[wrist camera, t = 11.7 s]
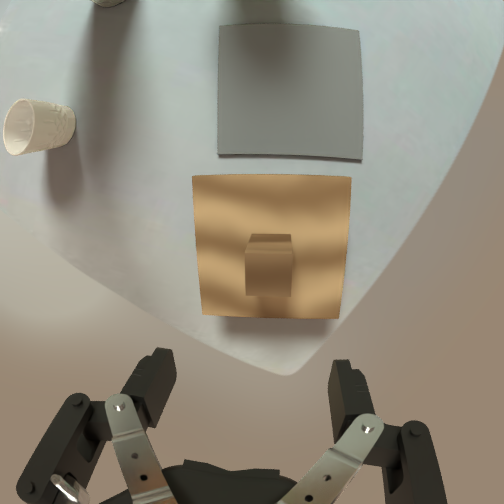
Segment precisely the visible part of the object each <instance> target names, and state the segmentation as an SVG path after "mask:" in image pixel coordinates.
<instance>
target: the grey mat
mask: <svg viewBox="0 0 504 504" xmlns="http://www.w3.org/2000/svg"><path fill="white" fill-rule="evenodd" d="M218 154H284V155H308V156H325V157H339V158H351V159H362V157H363V82H362V62H361V48H360V36H359V31H358V30H352V29H345V28H337V27H328V26H317V25H302V24H239V25H225V26H219V57H218Z"/></svg>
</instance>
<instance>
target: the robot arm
mask: <svg viewBox="0 0 504 504" xmlns="http://www.w3.org/2000/svg"><path fill="white" fill-rule="evenodd" d="M91 1H93V2H94V3H96V4H98V5H99V6H101V7H111V6H115V5H117V4H119V3H121V2H123V1H125V0H91ZM176 374H177V372H176V367H175V362H174V357H173V352H172V350H171V349H165V348H156V349H155V351H154V352H153V354H152V356H145V357H144V358H143V359H141V360H140V361H139V363H138V364H137V366H136V369H134V371H133V373H132V375H131V376H130V378H129V379H128V381H127V382H126V384H125V386H124V387H123V389H122V391H121V392H120V394H115V395H112V396H110V397H109V398H108V399H107V400H106V401H90V399H89V397H88V396H87V395H85V394H83V393H75V394H72V395H70V396H69V397H68V398H67V399H66V401H65V402H64V404H63V405H62V407H61V408H60V410H59V412H58V413H57V415H56V416H55V418H54V419H53V421H52V423H51V424H50V426H49V428H48V429H47V431H46V433H45V434H44V436H43V438H42V439H41V441H40V443H39V444H38V446H37V448H36V449H35V451H34V453H33V455H32V456H31V458H30V460H29V462H28V464H27V465H26V467H25V469H24V471H23V473H22V475H21V476H20V478H19V480H18V482H17V485H16V491H17V494H18V496H19V497H20V498H21V499H22V500H23V501H24V502H26V503H27V504H89V502H90V497H89V494H88V492H87V491H86V487H87V485H88V482H89V480H90V478H91V475H92V473H93V470H94V468H95V466H96V464H97V461H98V459H99V457H100V454H101V452H102V450H103V448H104V445H105V443H106V441H112V443H113V446H114V449H115V452H116V456H117V459H118V462H119V464H120V467H121V470H122V473H123V476H124V479H125V481H126V484H127V487H128V489H127V490H125V491H123V492H121V493H119V494H117V495H115V496H113V497H111V498H109V499H107V500H105V501H103V502H101V503H99V504H334V503H335V501H336V500H337V499H338V498H339V496H340V495H341V493H342V492H343V491H344V490H345V488H346V487H347V486H348V484H349V483H350V482H351V480H352V479H353V478H354V476H355V475H356V474H357V472H358V471H359V469H360V468H361V467H362V465H363V464H367V465H374V466H380V467H382V474H383V482H384V492H385V503H386V504H447V499H446V494H445V490H444V485H443V481H442V476H441V472H440V468H439V464H438V461H437V457H436V453H435V449H434V446H433V442H432V439H431V435H430V432H429V429H428V427H427V426H426V425H425V424H424V423H422V422H420V421H409V422H407V423H405V424H404V425H403V426H402V427H399V426H392V425H387V424H385V423H383V421H382V420H381V419H380V418H379V417H378V416H376V414H375V411H374V408H373V404H372V401H371V397H370V393H369V389H368V386H367V382H366V379H365V376H364V375H363V374H362V373H361V371H360V370H359V369H352V368H351V365H350V361H349V360H348V359H347V360H334V361H333V364H332V369H331V373H330V378H329V382H328V396H329V403H330V412H331V420H332V427H333V437H334V444H335V446H334V447H333V448H330V449H328V450H327V451H326V453H325V454H324V455H323V456H322V457H321V458H320V459H319V461H318V462H317V463H316V464H315V465H314V466H313V467H312V468H311V469H310V471H309V472H308V473H307V474H306V475H305V476H304V477H303V478H302V479H301V480H300V481H299V482H298V483H297V482H296V481H294V480H292V479H290V478H287V477H284V476H280V475H279V474H280V470H274V469H248V470H240V471H227V470H225V469H222V468H219V467H216V466H213V465H211V464H208V463H203V462H197V461H191V460H186V459H185V460H184V463H183V465H176V466H171V467H167V468H164V469H162V467H161V465H160V463H159V461H158V459H157V457H156V455H155V453H154V450H153V448H152V446H151V443H150V441H149V439H148V436H147V434H146V430H147V428H148V427H152V428H156V426H157V423H158V421H159V419H160V416H161V414H162V412H163V409H164V407H165V405H166V402H167V400H168V398H169V395H170V393H171V391H172V389H173V386H174V384H175V381H176Z"/></svg>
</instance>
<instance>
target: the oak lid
mask: <svg viewBox="0 0 504 504" xmlns="http://www.w3.org/2000/svg"><path fill="white" fill-rule="evenodd" d="M192 185H193V205H194V221H195V236H196V249H197V262H198V273H199V284H200V295H201V305H202V314H203V315H218V316H236V317H260V318H300V319H339V312H340V305H341V297H342V290H343V281H344V273H345V264H346V254H347V243H348V231H349V217H350V200H351V177H345V176H325V175H295V174H228V175H197V176H192Z"/></svg>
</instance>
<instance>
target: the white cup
mask: <svg viewBox="0 0 504 504" xmlns="http://www.w3.org/2000/svg"><path fill="white" fill-rule="evenodd" d="M75 123H76V118H75V115H74V112H73V110H71V109H70V108H69V107H68V106H62V105H57V104H54V103H49V102H44V101H37V100H30V99H20V100H18V101H16V102H15V103H14V104H13V105H12V107H11V108H10V110H9V111H8V114H7V116H6V119H5V122H4V128H3V140H4V144H5V147H6V149H7V151H8V152H9V153H10V154H11V155H14V156H17V155H22V154H27V153H32V152H38V151H42V150H48V149H51V148H57V147H61V146H63V145H65V144H67V143H68V141H69V140H70V139H71V138H72V136H73V133H74V130H75Z"/></svg>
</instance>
